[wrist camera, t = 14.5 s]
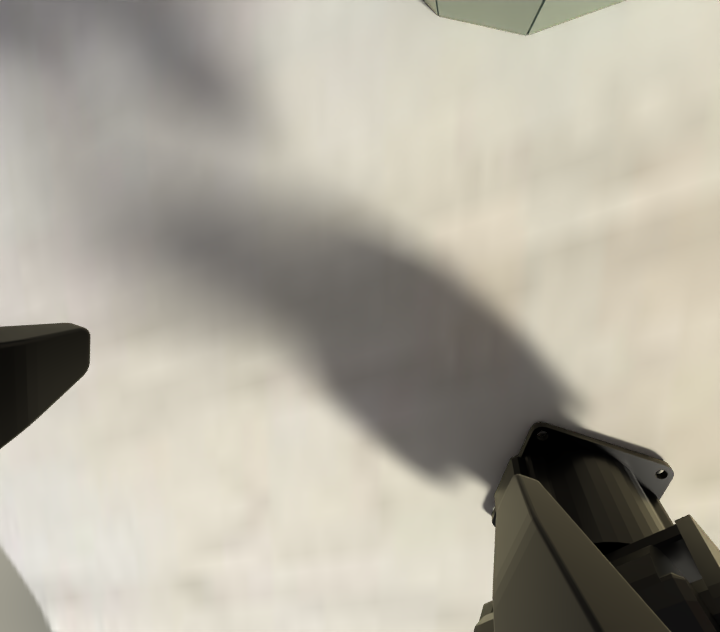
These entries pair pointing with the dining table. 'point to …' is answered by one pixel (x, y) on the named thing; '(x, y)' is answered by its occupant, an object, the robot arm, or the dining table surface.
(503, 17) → the bowl
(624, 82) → the dining table surface
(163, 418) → the dining table surface
